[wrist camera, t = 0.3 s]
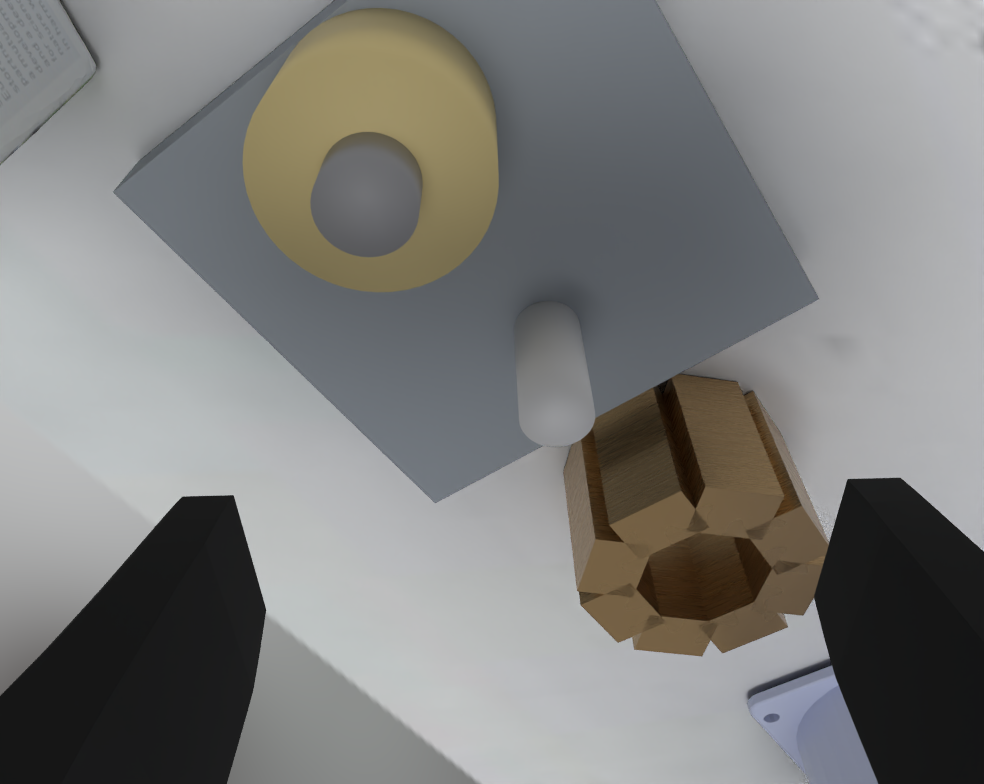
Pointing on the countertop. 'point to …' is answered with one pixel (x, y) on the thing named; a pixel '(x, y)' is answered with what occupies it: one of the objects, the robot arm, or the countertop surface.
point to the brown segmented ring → (691, 520)
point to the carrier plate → (551, 233)
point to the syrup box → (37, 67)
